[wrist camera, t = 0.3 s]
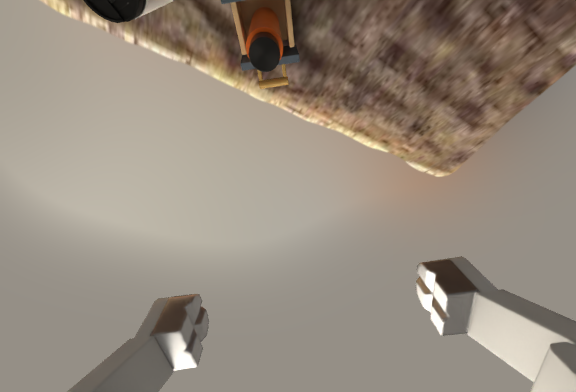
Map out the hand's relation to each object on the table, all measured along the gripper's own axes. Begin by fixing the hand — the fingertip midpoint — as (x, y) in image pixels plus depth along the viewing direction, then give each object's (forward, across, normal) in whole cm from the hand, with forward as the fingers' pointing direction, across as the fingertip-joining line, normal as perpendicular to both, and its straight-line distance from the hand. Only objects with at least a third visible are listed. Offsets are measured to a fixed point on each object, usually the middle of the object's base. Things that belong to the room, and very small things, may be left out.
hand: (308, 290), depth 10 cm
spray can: (+47, +1, -16) cm, 50 cm away
